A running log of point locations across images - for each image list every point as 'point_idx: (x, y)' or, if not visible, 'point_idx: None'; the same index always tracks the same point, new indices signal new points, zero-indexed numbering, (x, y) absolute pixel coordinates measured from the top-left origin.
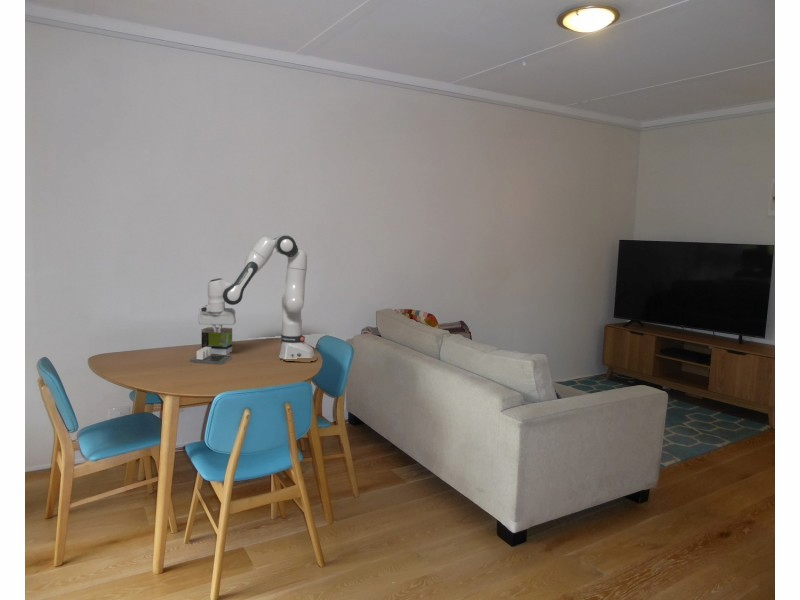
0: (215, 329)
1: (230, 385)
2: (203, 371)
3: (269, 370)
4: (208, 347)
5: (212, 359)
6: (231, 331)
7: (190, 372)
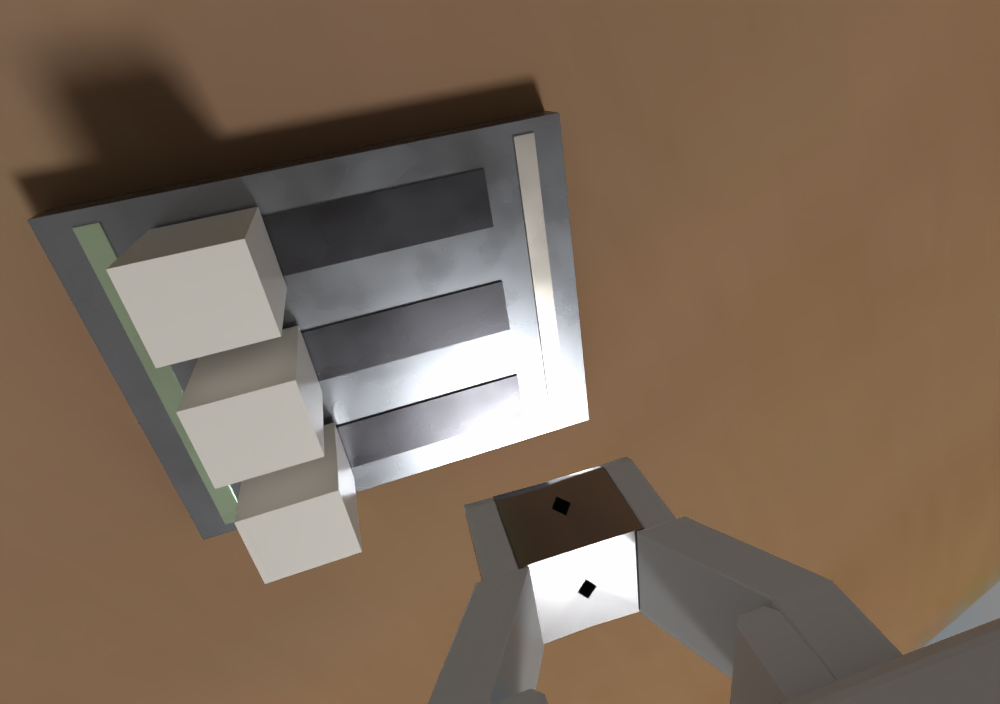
0: (536, 633)
1: None
2: None
3: (976, 356)
4: (225, 300)
5: (439, 401)
6: None
7: None
